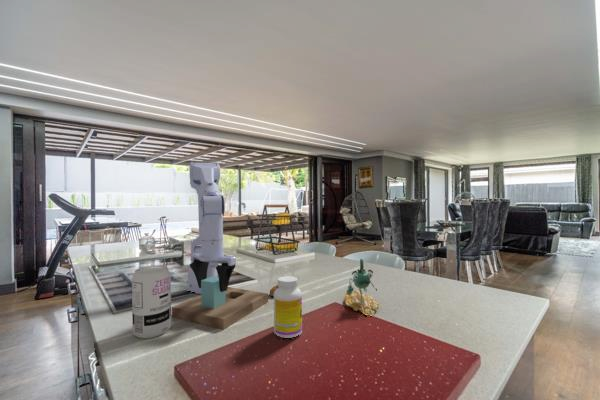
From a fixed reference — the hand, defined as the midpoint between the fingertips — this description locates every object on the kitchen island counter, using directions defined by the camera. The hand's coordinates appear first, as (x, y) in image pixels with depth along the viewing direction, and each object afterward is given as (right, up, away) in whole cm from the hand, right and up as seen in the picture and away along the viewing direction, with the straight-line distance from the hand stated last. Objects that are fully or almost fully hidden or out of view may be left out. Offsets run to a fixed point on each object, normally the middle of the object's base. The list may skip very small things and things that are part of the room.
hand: (212, 288), depth 78 cm
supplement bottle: (+21, -7, -11) cm, 25 cm away
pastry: (+19, -7, +16) cm, 26 cm away
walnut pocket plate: (+2, -7, +4) cm, 8 cm away
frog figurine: (+42, -7, +6) cm, 43 cm away
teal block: (0, -4, 0) cm, 4 cm away
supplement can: (-12, -7, -10) cm, 17 cm away
